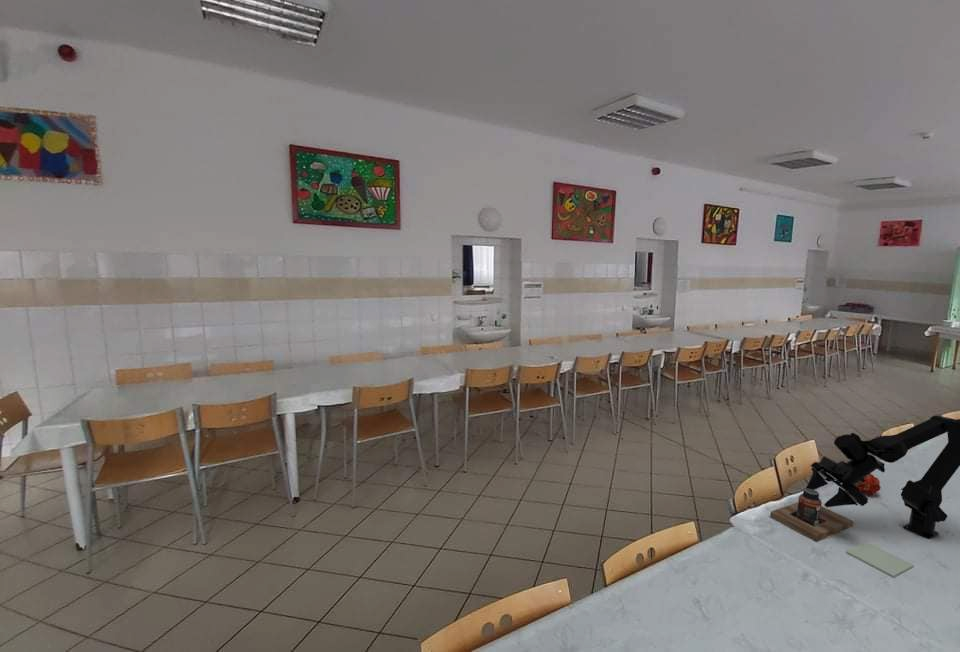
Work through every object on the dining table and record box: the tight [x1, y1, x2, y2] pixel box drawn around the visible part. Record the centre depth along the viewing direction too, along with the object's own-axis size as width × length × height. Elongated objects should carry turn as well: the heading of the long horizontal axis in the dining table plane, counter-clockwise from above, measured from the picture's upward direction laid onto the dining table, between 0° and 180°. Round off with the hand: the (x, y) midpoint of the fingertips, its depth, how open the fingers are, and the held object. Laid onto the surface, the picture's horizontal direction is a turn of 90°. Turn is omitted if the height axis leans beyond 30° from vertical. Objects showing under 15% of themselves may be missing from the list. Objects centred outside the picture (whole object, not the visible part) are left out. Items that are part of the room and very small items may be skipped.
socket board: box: [769, 501, 854, 543], centre depth 142 cm, size 20×14×2 cm
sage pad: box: [845, 541, 915, 578], centre depth 124 cm, size 11×11×1 cm
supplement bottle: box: [796, 488, 823, 526], centre depth 140 cm, size 6×6×11 cm
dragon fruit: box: [854, 473, 882, 497], centre depth 160 cm, size 8×8×12 cm
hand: (815, 498), depth 140 cm, fingers open, 9 cm apart
